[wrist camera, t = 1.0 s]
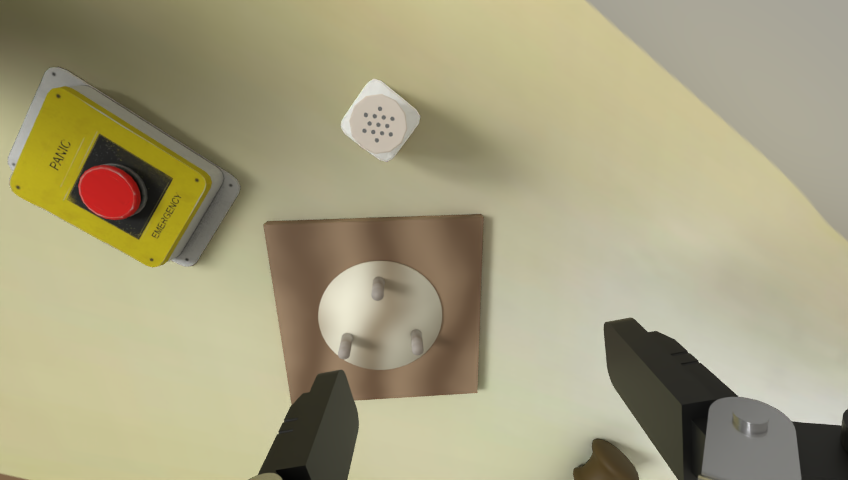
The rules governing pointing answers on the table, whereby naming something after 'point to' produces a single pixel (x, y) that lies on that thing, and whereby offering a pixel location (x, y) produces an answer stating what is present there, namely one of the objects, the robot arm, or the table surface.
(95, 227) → the emergency button
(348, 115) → the pepper shaker
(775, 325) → the table surface
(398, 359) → the pin board
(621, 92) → the table surface
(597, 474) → the kendama
